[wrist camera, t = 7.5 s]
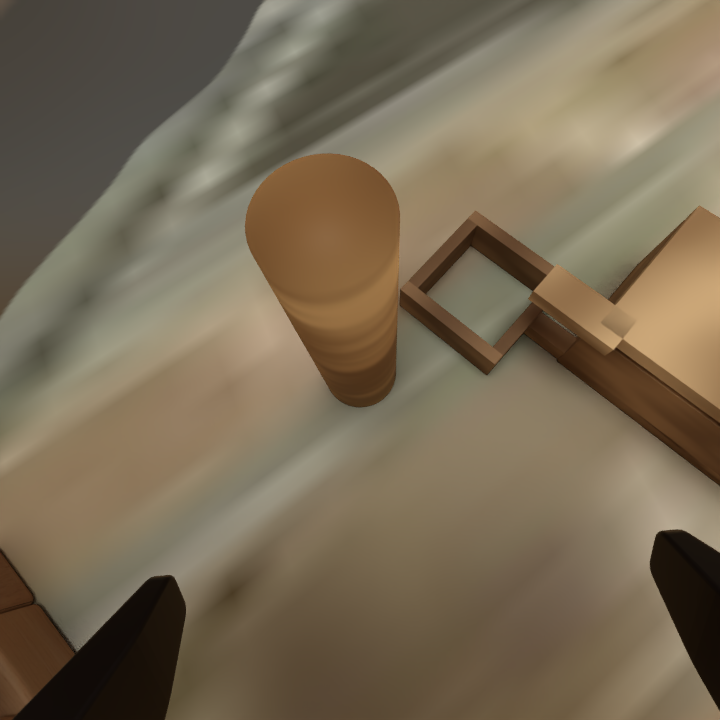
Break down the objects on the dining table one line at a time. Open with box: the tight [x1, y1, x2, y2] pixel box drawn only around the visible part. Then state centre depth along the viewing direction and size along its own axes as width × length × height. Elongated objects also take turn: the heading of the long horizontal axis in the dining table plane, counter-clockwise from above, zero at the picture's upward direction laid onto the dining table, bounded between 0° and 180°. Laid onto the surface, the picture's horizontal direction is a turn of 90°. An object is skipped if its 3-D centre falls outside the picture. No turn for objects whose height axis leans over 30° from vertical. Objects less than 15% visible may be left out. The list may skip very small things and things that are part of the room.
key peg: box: [245, 154, 400, 407], centre depth 18 cm, size 4×4×14 cm
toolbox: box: [400, 211, 720, 485], centre depth 21 cm, size 22×10×4 cm, turn 47°
